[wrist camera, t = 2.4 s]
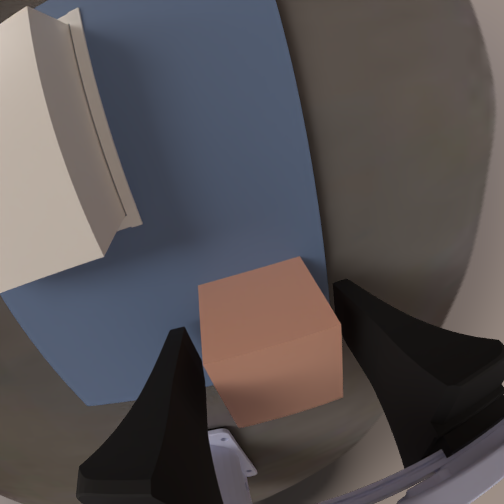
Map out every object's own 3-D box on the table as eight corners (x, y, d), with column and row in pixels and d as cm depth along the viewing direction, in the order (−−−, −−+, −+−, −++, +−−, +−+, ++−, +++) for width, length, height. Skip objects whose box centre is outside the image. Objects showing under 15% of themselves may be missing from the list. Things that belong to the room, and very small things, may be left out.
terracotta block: (311, 329, 14) (342, 397, 10) (226, 354, 14) (238, 428, 10) (299, 256, 12) (341, 324, 8) (198, 285, 12) (203, 364, 8)
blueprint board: (329, 343, 15) (334, 351, 15) (89, 399, 15) (87, 407, 14) (253, -56, 6) (256, -63, 6) (-67, 95, 6) (-75, 96, 5)
